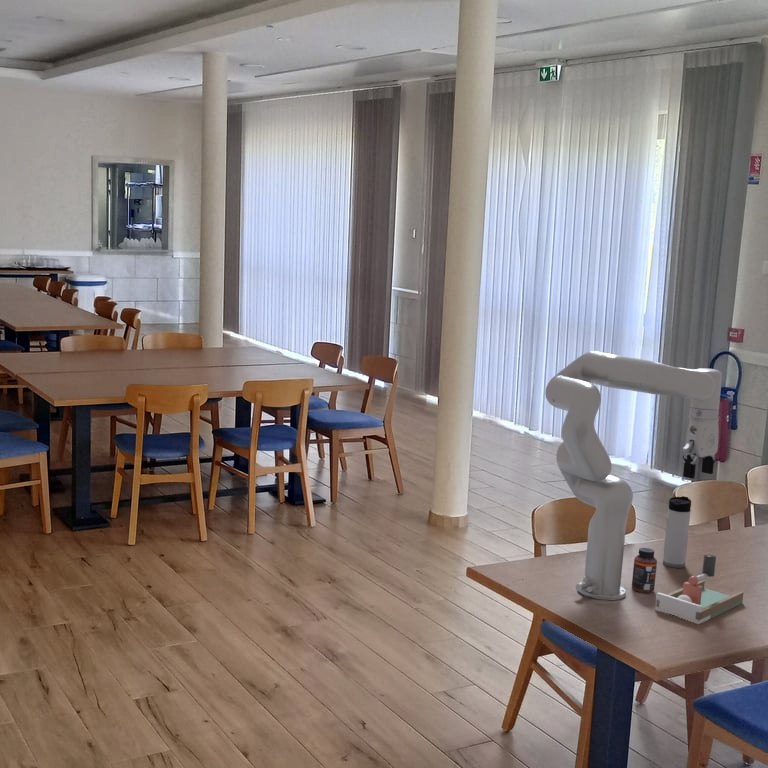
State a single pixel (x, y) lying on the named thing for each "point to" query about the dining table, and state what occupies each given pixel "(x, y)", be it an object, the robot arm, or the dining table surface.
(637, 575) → the supplement bottle
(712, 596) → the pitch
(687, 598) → the ball
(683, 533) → the travel mug
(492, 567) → the dining table surface
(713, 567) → the kicker rod
